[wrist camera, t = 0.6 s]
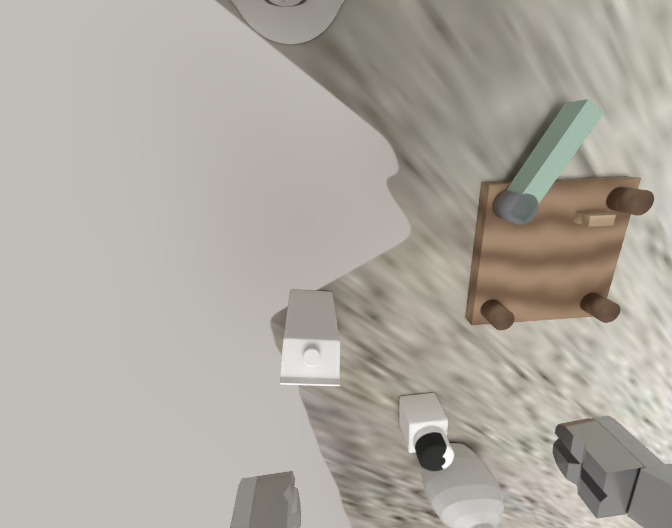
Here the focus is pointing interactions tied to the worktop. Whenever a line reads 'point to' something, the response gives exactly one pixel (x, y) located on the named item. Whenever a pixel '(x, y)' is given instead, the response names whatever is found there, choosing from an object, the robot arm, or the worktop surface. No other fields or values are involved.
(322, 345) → the milk carton
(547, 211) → the stool seat
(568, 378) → the worktop surface
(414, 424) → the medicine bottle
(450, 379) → the worktop surface
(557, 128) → the hinged leg
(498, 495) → the soap bottle
